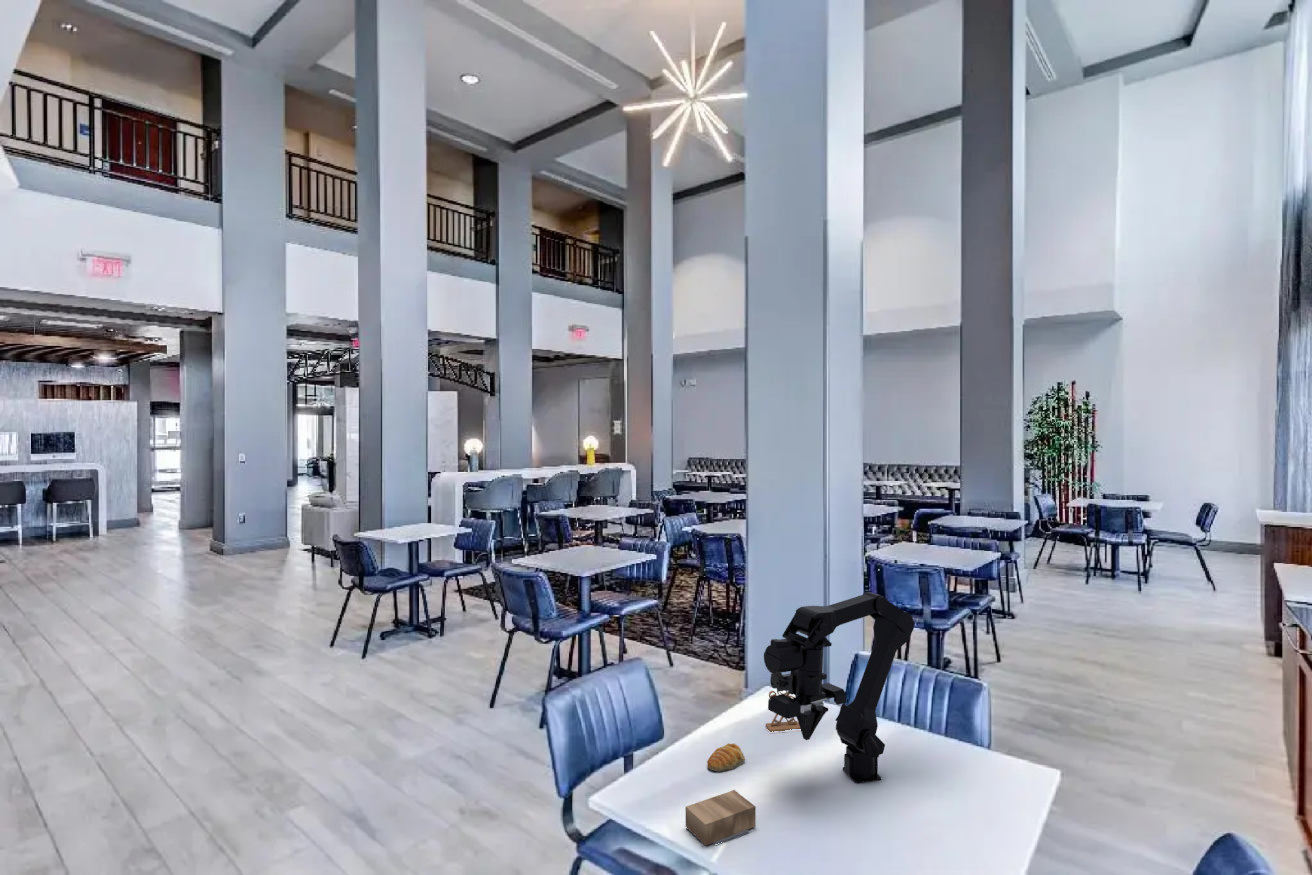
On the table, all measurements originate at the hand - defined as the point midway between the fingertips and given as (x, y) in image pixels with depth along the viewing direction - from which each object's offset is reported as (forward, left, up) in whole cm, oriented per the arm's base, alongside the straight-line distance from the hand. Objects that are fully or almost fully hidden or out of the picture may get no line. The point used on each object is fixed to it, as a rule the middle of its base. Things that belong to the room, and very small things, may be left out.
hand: (806, 739), depth 147 cm
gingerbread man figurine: (-7, -30, -12) cm, 33 cm away
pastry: (+13, -16, -12) cm, 24 cm away
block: (+16, +6, -9) cm, 20 cm away
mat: (+22, +8, -12) cm, 26 cm away
